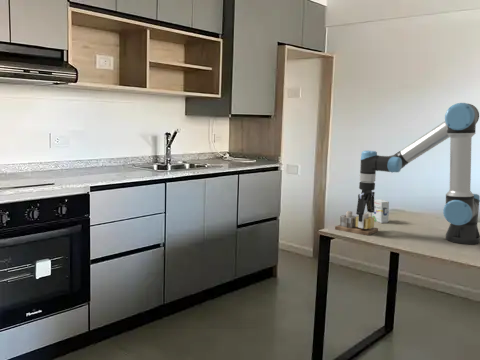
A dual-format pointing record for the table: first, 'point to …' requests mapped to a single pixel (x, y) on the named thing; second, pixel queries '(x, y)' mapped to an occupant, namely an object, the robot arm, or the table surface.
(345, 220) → the gear board
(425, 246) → the table surface
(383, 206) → the ink box
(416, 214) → the table surface
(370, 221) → the brass gear
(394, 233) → the table surface
